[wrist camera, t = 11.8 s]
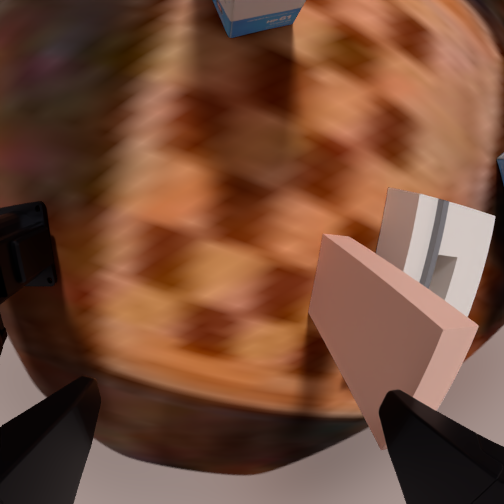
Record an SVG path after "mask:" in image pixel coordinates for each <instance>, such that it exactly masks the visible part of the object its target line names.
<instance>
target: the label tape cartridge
mask: <svg viewBox="0 0 504 504" xmlns="http://www.w3.org/2000/svg"><path fill="white" fill-rule="evenodd" d="M497 163H498V166H499V169H500V173H501V177H502V181H503V185H504V152H503V153H502V154H501V155H500V156H499V157H498V158H497Z"/></svg>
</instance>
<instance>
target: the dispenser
mask: <svg viewBox="0 0 504 504" xmlns="http://www.w3.org/2000/svg"><path fill="white" fill-rule="evenodd" d="M495 217H496V216H493V215H490V214H487V213H484V212H481V211H478V210H475V209H472V208H468V207H465V206H462V205H459V204H455V203H452V202H449V201H446V200H442V199H438V198H434V197H430V196H427V195H423V194H419V193H414V192H409V191H405V190H400V189H395V188H390V187H388V192H387V198H386V204H385V209H384V215H383V220H382V225H381V231H380V235H379V240H378V245H377V250H376V254H377V255H379V256H380V257H382V258H383V259H385V260H386V261H388V262H389V263H391V264H392V265H394V266H395V267H397V268H398V269H400V270H401V271H403V272H404V273H406V274H407V275H409V276H410V277H412V278H413V279H415V280H416V281H418V282H419V283H420V284H422V285H423V286H425V287H426V288H428V289H429V290H431V291H432V292H433V293H435V294H436V295H438V296H439V297H440V298H442V299H443V300H445V301H446V302H447V303H449V304H450V305H451V306H453V307H454V308H456V309H457V310H458V311H460V312H461V313H462V314H464V315H465V316H466V317H468V315H469V312H470V309H471V306H472V304H473V301H474V298H475V295H476V292H477V289H478V285H479V282H480V279H481V276H482V272H483V269H484V265H485V261H486V258H487V254H488V250H489V245H490V241H491V237H492V232H493V227H494V222H495Z"/></svg>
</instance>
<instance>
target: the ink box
mask: <svg viewBox="0 0 504 504" xmlns="http://www.w3.org/2000/svg"><path fill="white" fill-rule="evenodd" d="M305 1H306V0H213V3H214V5H215V7H216V10H217V12H218V14H219V17H220V19H221V21H222V24H223V26H224V28H225V31H226V33H227V35H228V37H230V38H234V37H238V36H242V35H246V34H250V33H254V32H258V31H263V30H267V29H272V28H277V27H281V26H286V25H290V24H293V23H294V21H295V19H296V17H297V15H298V13H299V12H300V10H301V8H302V6H303V5H304V3H305Z"/></svg>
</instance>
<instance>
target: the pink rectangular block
mask: <svg viewBox="0 0 504 504" xmlns="http://www.w3.org/2000/svg"><path fill="white" fill-rule="evenodd" d="M308 313H309V315H310V317H311V318H312V320H313V322H314V324H315V326H316V328H317V329H318V331H319V333H320V335H321V337H322V339H323V340H324V342H325V344H326V346H327V348H328V350H329V352H330V353H331V355H332V357H333V359H334V361H335V363H336V365H337V367H338V368H339V370H340V372H341V374H342V376H343V378H344V380H345V382H346V384H347V385H348V387H349V389H350V391H351V393H352V395H353V397H354V399H355V401H356V403H357V404H358V406H359V408H360V410H361V412H362V414H363V416H364V418H365V420H366V422H367V424H368V426H369V428H370V430H371V431H372V433H373V435H374V437H375V439H376V441H377V443H378V445H379V447H380V449H381V450H385V449H387V445H386V441H385V437H384V433H383V429H382V425H381V421H380V417H379V407H380V405H381V403H382V401H383V399H384V397H385V395H386V394H387V392H388V391H390V390H397V389H399V390H402V391H403V392H405V393H407V394H408V395H410V396H412V397H413V398H415V399H417V400H418V401H420V402H422V403H424V404H425V405H427V406H429V407H430V408H432V409H434V410H436V411H437V409H438V407H439V406H440V404H441V403H442V401H443V399H444V397H445V396H446V394H447V392H448V390H449V388H450V387H451V385H452V382H453V381H454V379H455V377H456V375H457V373H458V371H459V369H460V367H461V365H462V363H463V361H464V359H465V357H466V354H467V352H468V350H469V348H470V346H471V343H472V341H473V339H474V336H475V334H476V331H477V329H478V325H477V324H476V323H474V322H473V321H472V320H470V319H469V318H468V317H466V316H465V315H464V314H462V313H461V312H460V311H458V310H457V309H456V308H454V307H453V306H451V305H450V304H449V303H447V302H446V301H445V300H443V299H442V298H440V297H439V296H438V295H436V294H435V293H433V292H432V291H431V290H429V289H428V288H426V287H425V286H423V285H422V284H420V283H419V282H418V281H416V280H415V279H413V278H412V277H410V276H409V275H407V274H406V273H404V272H403V271H401V270H400V269H398V268H397V267H395V266H394V265H392V264H391V263H389V262H388V261H386V260H385V259H383V258H382V257H380V256H379V255H377V254H376V253H374V252H372V251H371V250H369V249H368V248H366V247H365V246H363V245H362V244H360V243H358V242H357V241H355V240H354V239H352V238H350V237H348V236H339V235H330V234H323V236H322V242H321V248H320V254H319V259H318V265H317V270H316V276H315V281H314V286H313V291H312V296H311V301H310V306H309V311H308Z"/></svg>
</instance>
